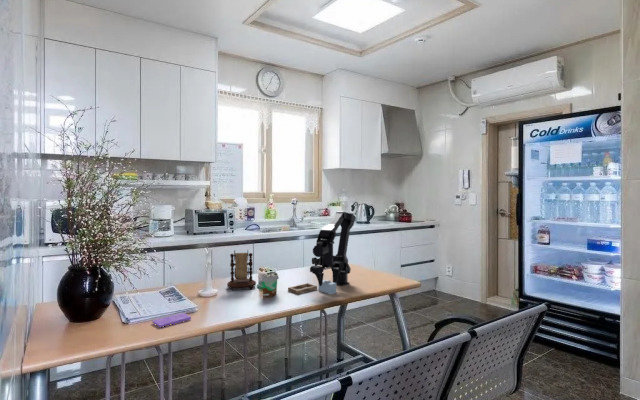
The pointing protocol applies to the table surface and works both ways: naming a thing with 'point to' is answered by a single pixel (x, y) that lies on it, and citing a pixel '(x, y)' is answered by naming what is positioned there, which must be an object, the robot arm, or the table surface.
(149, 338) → the table surface
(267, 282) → the food container
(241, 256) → the scroll
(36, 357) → the table surface
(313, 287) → the tan picture frame
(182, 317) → the purple flat block
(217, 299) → the table surface
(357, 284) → the table surface
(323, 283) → the key block
